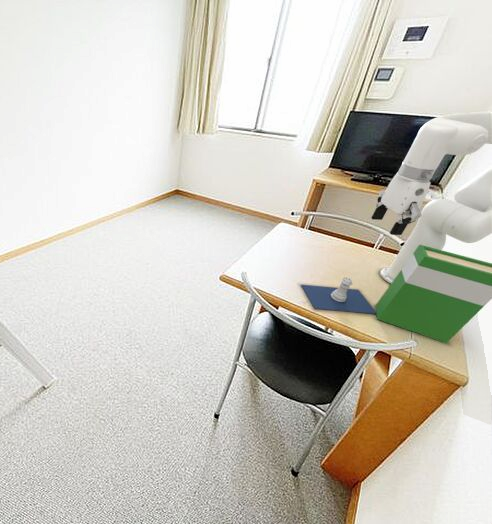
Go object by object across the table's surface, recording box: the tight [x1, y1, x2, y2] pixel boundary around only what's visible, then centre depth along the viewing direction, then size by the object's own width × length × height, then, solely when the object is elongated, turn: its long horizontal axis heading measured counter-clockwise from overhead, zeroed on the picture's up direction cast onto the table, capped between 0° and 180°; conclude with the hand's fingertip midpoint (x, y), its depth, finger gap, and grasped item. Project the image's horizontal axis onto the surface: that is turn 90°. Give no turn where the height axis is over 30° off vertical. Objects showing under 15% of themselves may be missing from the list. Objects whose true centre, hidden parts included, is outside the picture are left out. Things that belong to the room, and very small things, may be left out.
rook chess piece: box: [331, 277, 353, 302], centre depth 100 cm, size 4×4×8 cm
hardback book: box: [374, 245, 492, 344], centre depth 87 cm, size 18×7×24 cm, turn 61°
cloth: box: [300, 284, 377, 315], centre depth 102 cm, size 20×12×1 cm, turn 86°
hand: (385, 226), depth 94 cm, fingers open, 9 cm apart
